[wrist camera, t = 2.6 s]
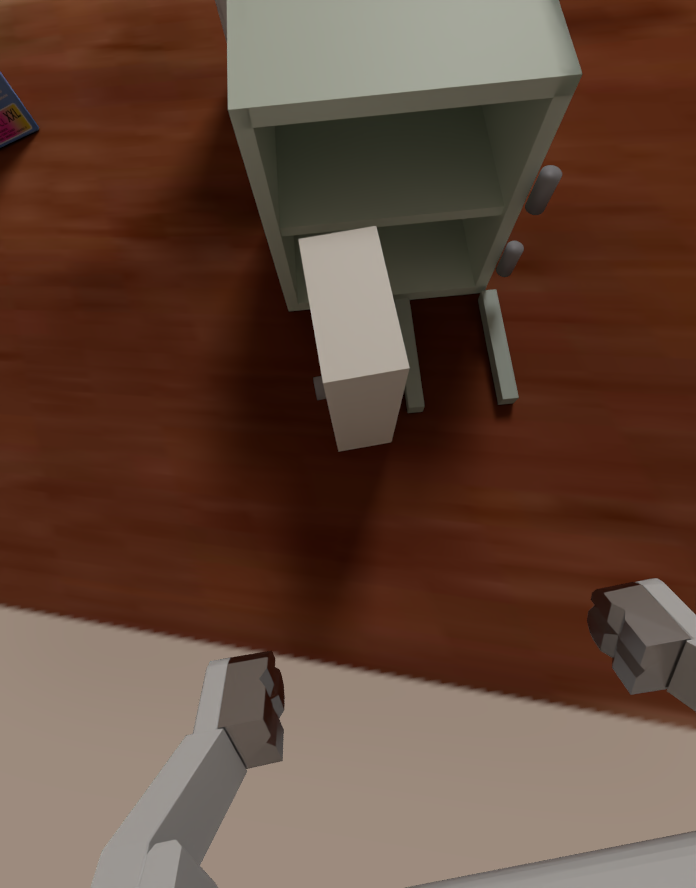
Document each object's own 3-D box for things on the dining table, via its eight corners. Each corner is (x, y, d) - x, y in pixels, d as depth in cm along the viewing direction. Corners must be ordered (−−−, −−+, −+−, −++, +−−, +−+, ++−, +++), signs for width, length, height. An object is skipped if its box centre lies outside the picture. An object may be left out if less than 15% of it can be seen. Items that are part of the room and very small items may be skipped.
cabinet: (519, 402, 28) (668, 253, 14) (294, 423, 28) (230, 295, 14) (473, 180, 33) (550, -88, 19) (282, 199, 33) (226, -53, 19)
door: (391, 442, 27) (409, 368, 17) (330, 453, 27) (309, 385, 17) (371, 346, 29) (376, 225, 19) (314, 356, 29) (286, 241, 18)
